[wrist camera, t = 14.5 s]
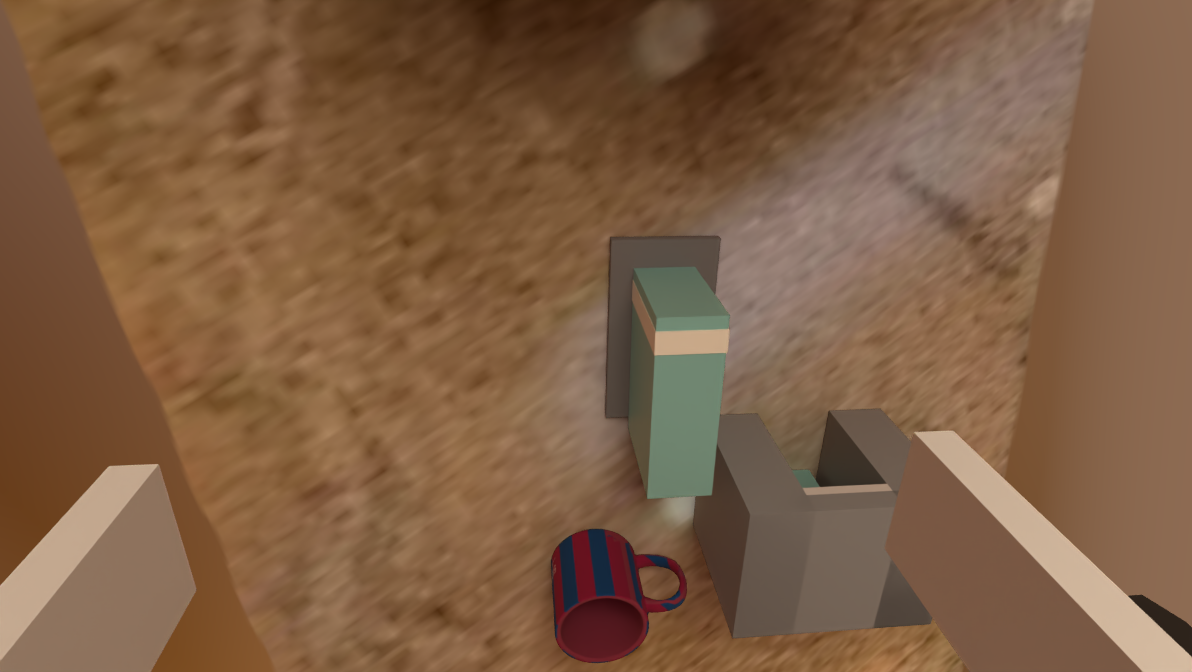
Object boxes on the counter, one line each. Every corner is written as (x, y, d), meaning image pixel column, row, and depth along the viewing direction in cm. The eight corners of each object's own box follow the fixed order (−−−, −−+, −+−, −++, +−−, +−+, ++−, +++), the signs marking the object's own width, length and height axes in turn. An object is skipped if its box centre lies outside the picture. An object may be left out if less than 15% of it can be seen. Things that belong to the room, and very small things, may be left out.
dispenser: (703, 415, 50) (750, 514, 40) (880, 408, 51) (968, 503, 41) (692, 524, 54) (732, 638, 44) (856, 515, 55) (930, 623, 45)
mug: (544, 535, 53) (548, 603, 47) (671, 514, 53) (691, 579, 47) (557, 598, 56) (562, 670, 50) (677, 578, 56) (697, 647, 50)
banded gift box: (633, 268, 44) (656, 318, 36) (695, 266, 44) (731, 316, 37) (627, 427, 49) (646, 499, 41) (683, 425, 49) (712, 496, 42)
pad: (610, 237, 43) (611, 239, 43) (718, 235, 44) (720, 238, 43) (605, 413, 49) (606, 417, 48) (701, 409, 49) (703, 414, 49)
